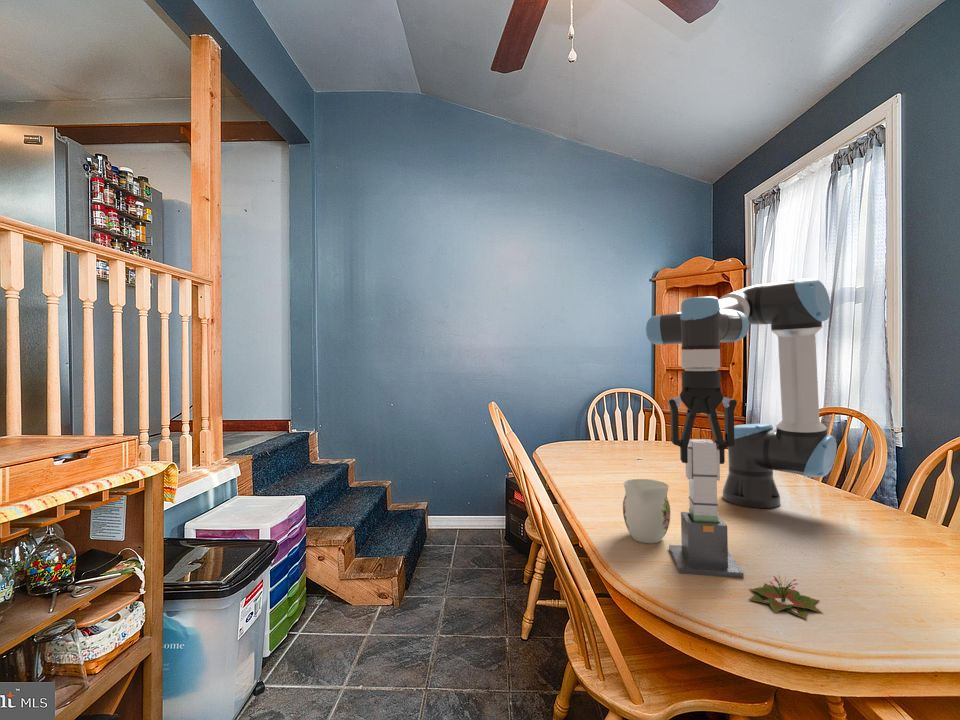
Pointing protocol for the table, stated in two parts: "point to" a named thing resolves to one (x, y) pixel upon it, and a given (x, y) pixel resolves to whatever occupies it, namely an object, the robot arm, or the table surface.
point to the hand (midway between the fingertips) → (702, 478)
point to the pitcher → (646, 509)
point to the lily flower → (784, 598)
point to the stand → (704, 549)
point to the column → (703, 482)
